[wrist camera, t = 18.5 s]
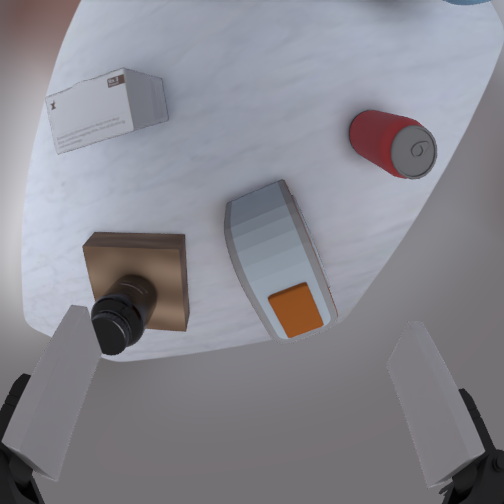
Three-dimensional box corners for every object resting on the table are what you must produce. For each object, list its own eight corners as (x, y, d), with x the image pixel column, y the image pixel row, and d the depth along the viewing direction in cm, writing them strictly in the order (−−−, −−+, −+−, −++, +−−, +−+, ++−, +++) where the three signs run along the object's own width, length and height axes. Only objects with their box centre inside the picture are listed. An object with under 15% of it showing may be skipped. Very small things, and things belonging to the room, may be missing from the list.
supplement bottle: (149, 268, 41) (124, 303, 29) (163, 313, 42) (146, 360, 31) (105, 278, 40) (70, 313, 29) (120, 321, 42) (93, 366, 31)
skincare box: (113, 134, 36) (53, 160, 23) (104, 92, 33) (39, 98, 20) (173, 119, 35) (134, 135, 22) (165, 74, 33) (121, 65, 20)
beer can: (400, 142, 37) (449, 164, 27) (363, 166, 39) (403, 196, 28) (378, 101, 35) (426, 108, 24) (338, 125, 36) (375, 140, 26)
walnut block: (95, 230, 43) (82, 246, 38) (185, 232, 44) (179, 249, 39) (111, 305, 49) (101, 324, 45) (189, 310, 50) (186, 331, 46)
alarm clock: (321, 267, 46) (345, 328, 34) (269, 288, 48) (277, 353, 36) (285, 178, 40) (305, 218, 28) (225, 203, 41) (219, 254, 29)
